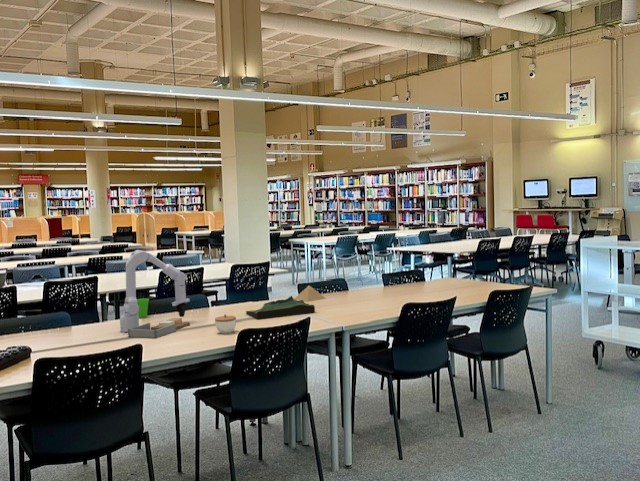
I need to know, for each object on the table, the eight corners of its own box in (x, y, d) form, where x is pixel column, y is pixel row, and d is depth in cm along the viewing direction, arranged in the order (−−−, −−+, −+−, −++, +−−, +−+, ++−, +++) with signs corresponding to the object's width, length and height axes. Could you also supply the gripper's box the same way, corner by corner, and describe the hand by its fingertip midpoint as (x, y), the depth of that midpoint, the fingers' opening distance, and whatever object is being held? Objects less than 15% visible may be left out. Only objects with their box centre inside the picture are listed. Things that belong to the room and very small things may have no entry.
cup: (131, 319, 362) (130, 301, 362) (139, 316, 371) (138, 298, 371) (145, 319, 360) (144, 301, 360) (152, 316, 369) (151, 298, 368)
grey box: (128, 337, 310) (128, 329, 310) (148, 330, 326) (148, 322, 326) (156, 338, 304) (155, 330, 304) (175, 331, 320) (175, 323, 320)
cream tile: (159, 327, 325) (158, 322, 325) (165, 325, 331) (165, 320, 331) (168, 327, 323) (168, 322, 323) (174, 325, 329) (174, 320, 328)
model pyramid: (310, 296, 424) (310, 282, 423) (326, 299, 410) (326, 284, 410) (292, 300, 413) (291, 285, 413) (307, 302, 400) (307, 287, 399)
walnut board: (151, 330, 325) (151, 327, 325) (168, 324, 340) (168, 321, 340) (173, 331, 320) (173, 328, 320) (189, 325, 335) (189, 322, 335)
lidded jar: (237, 329, 317) (236, 312, 316) (235, 334, 306) (234, 315, 305) (217, 330, 316) (216, 313, 316) (214, 335, 306) (213, 316, 305)
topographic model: (301, 308, 377) (300, 292, 376) (315, 313, 357) (314, 296, 357) (246, 314, 363) (245, 298, 362) (257, 320, 343) (256, 303, 342)
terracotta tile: (166, 324, 332) (166, 320, 332) (172, 322, 337) (172, 318, 337) (175, 324, 330) (175, 320, 329) (182, 322, 335) (181, 318, 335)
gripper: (179, 294, 331) (180, 319, 332) (193, 290, 345) (195, 314, 346) (168, 294, 334) (169, 318, 335) (183, 290, 347) (184, 314, 348)
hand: (181, 316), depth 340 cm, fingers closed
